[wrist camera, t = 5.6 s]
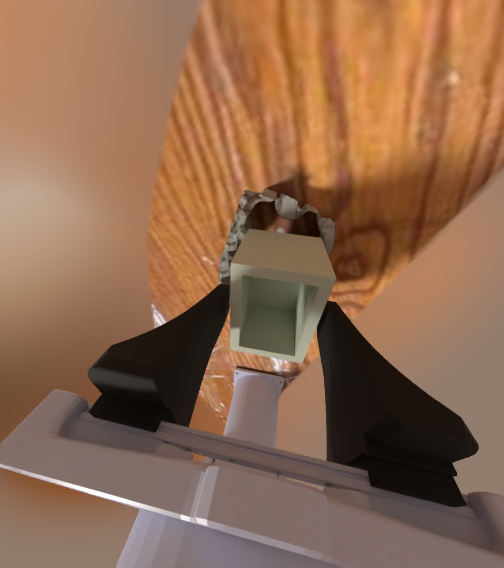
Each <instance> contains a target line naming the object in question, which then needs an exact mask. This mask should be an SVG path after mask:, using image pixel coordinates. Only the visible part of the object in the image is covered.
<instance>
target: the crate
mask: <svg viewBox="0 0 504 568" xmlns="http://www.w3.org/2000/svg"><path fill="white" fill-rule="evenodd" d="M335 281H336V276H335V273H334V270H333V268H332V265H331V262H330V260H329V257H328V254H327V252H326V249H325V246H324V244H323V241H322V238H318V237H310V236H302V235H294V234H286V233H279V232H271V231H263V230H255V229H248V231H247V233H246V235H245V237H244V238H243V240H242V242H241V244H240V246H239V248H238V250H237V252H236V254H235V256H234V257H233V259H232V261H231V288H230V350H233V351H239V352H244V353H249V354H255V355H260V356H266V357H271V358H276V359H282V360H287V361H292V362H298V363H302V362H303V359H304V357H305V354H306V352H307V350H308V347H309V345H310V342H311V340H312V337H313V335H314V332H315V330H316V327H317V325H318V322H319V320H320V318H321V315H322V313H323V310H324V308H325V305H326V303H327V300H328V298H329V295H330V293H331V291H332V288H333V286H334V283H335Z"/></svg>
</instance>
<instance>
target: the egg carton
mask: <svg viewBox="0 0 504 568" xmlns="http://www.w3.org/2000/svg"><path fill="white" fill-rule="evenodd" d="M244 192H245V194H243V195H242V197H241V200H240V203H239V206H238V208H237V211H236V215H235V217H234V220H233V223H232V226H231V230H230V233H229V236H228V239H227V242H226V245H225V249H224V252H223V254H222V258H221V261H220V264H219V284H225V285H229V295H230V288H231V261H232V259H233V257H234V256H235V254H236V252H237V250H238V247H239V246H240V244H241V242H242V240H243V238H244V237H245V235H246V233H247V231H248V229H251V228H252V221H251V218H250V216H249V214H250V212H251V210H252V209H253V208H254V206H255V205H256V204H257V203H258V202H261V201H266V202H271V201H275V207H276V211H277V213H278V214H279V215H280V216H281V217H282V218H284V219H287V220H294V219H297V218H299V217H301V216H302V215H303V214H304V213H306V212H307V211H312V212H314V213H316V220H317V223H318V228H319V231H320V232H321V233H320V235H319V237H318V238H322V241H323V244H324V246H325V249H326V252H327V254H328V257H329V255H330V253H331V252H332V250H333V247H334V239H335V222H334V221H333V220H332V219H330V218H324V217H323V218H321V217H320V215H319V212H318V210H317V208H315V207H313V206H311V205H308V204H305V205H304V206H303V208H299V206H298V201H296V200H294V199H292V198H290V197H289V196H286V195H284V194H282V193H281V194H280V197H278V198H277V193H276V192H274V191H272V190H269V189H267V188H265V189H264V191H263V192H262V193H261V195H260V194H259V193H255V192H251V191H248V190H245V191H244ZM277 232H279V233H285V230H284V229H283V228H282V227H280V228H279V229H278V230H277Z"/></svg>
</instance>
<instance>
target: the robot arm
mask: <svg viewBox="0 0 504 568" xmlns="http://www.w3.org/2000/svg"><path fill="white" fill-rule="evenodd" d="M229 308H230V295H229V285H225V284H219V285H218V286H217V287H216V288H215V289H214V290H212V291H211V292H210V293H209V294H208V295H207V296H205V297H204V298H203V299H202V300H200V301H199V302H198V303H197V304H195V305H194V306H192V307H191V308H190V309H188V310H187V311H185V312H184V313H182V314H181V315H179V316H178V317H176V318H174V319H172V320H171V321H169V322H167V323H165V324H163V325H161V326H159V327H157V328H155V329H153V330H151V331H149V332H146V333H144V334H141V335H139V336H137V337H134V338H132V339H129V340H126V341H123V342H120V343H117V344H114V345H112V346H111V347H110V348H109V349H108V350H107V351H106V352H105V353H104V354H103V355H102V356H101V357H100V358H99V359H98V361H97V362H96V363H95V364H94V365H93V366H92V367H91V368H90V369H89V371H88V377H89V379H90V380H91V382H92V383H93V384H94V385H95V386H96V387H97V388H98V389H99V391H100V392H101V393H102V395H101V396H100V397H99V399H98V400H97V401H96V402H95V404H90V403H88V401H87V400H86V399H85V398H84V397H83V396H81V395H78V394H75V393H71V392H67V391H63V390H58V389H56V390H53V391H52V392H51V393H50V394H49V395H48V396H47V397H46V398H45V399H44V400H43V402H41V403H40V404H39V405H38V406H37V407H36V408H35V409H34V410H33V412H31V413H30V414H29V415H28V416H27V417H26V418H25V420H23V421H22V423H20V424H19V425H18V426H17V428H15V429H14V431H12V432H11V433H10V434H9V435H8V437H7V438H6V439H5V440H4V441H3V442H2V443H1V444H0V467H1V468H5V469H8V470H11V471H14V472H18V473H21V474H24V475H27V476H31V477H34V478H37V479H41V480H45V481H48V482H51V483H54V484H58V485H61V486H64V487H68V488H71V489H75V490H78V491H81V492H85V493H88V494H91V495H95V496H98V497H101V498H105V499H108V500H111V501H115V502H118V503H121V504H125V505H128V506H132V507H135V508H138V509H140V511H139V513H138V516H137V518H136V520H135V523H134V525H133V528H132V530H131V532H130V535H129V537H128V539H127V542H126V544H125V547H124V549H123V551H122V554H121V556H120V558H119V561H118V563H117V566H116V568H504V496H502V495H498V494H494V493H489V492H472V493H468V495H465V494H461V492H460V490H459V488H458V486H457V484H456V482H455V480H454V478H453V476H457V472H456V470H455V468H454V466H453V464H452V463H453V462H456V461H458V460H461V459H464V458H467V457H470V456H472V455H474V454H475V453H476V452H477V451H478V449H479V446H478V443H477V442H476V440H475V439H474V437H473V435H472V434H471V433H470V431H469V429H468V428H467V426H466V424H465V423H464V421H463V420H462V418H461V417H460V416H458V415H457V414H456V413H454V412H453V411H451V410H450V409H448V408H447V407H445V406H444V405H443V404H441V403H440V402H438V401H437V400H435V399H434V398H433V397H431V396H430V395H428V394H427V393H426V392H424V391H423V390H422V389H420V388H419V387H418V386H417V385H415V384H414V383H412V381H410V380H409V379H408V378H407V377H405V376H404V375H403V374H402V373H400V372H399V371H398V370H397V369H396V368H395V367H394V366H392V365H391V364H390V363H389V362H388V361H387V360H386V359H385V358H384V357H383V356H382V355H380V353H379V352H377V351H376V350H375V349H374V348H373V347H372V346H371V344H370V343H369V342H368V341H367V340H366V339H365V338H364V337H363V336H362V334H361V333H360V332H359V331H358V330H357V329H356V327H355V326H354V325H353V324H352V322H351V321H350V320H349V319H348V317H347V316H346V315H345V313H344V312H343V311H342V309H341V308H340V307H339V305H338V304H337V303H336V302H332V301H327V303H326V305H325V308H324V310H323V313H322V315H321V318H320V320H319V322H318V325H317V339H318V345H319V351H320V357H321V363H322V368H323V375H324V385H325V402H326V427H327V461H325V460H321V459H317V458H312V457H308V456H304V455H300V454H296V453H292V452H287V451H284V450H279V449H276V432H277V413H278V399H279V396H280V393H281V390H282V387H283V385H284V382H285V378H284V377H281V376H276V375H271V374H266V373H261V372H256V371H251V370H246V369H241V368H235V369H234V393H233V397H232V401H231V406H230V410H229V414H228V418H227V422H226V426H225V431H224V435H223V436H222V435H218V434H213V433H209V432H205V431H201V430H197V429H193V428H189V424H190V421H191V417H192V413H193V410H194V406H195V403H196V399H197V396H198V393H199V390H200V386H201V383H202V380H203V377H204V374H205V370H206V367H207V364H208V361H209V358H210V356H211V353H212V351H213V348H214V346H215V344H216V342H217V339H218V337H219V335H220V333H221V330H222V328H223V326H224V324H225V321H226V318H227V315H228V312H229ZM186 451H187V452H186ZM189 452H191V453H195V454H199V455H203V456H206V458H205V461H204V462H200V461H194V460H193V455H192V454H191V453H189ZM287 477H289V478H293V479H296V480H300V481H304V482H308V483H312V484H316V485H320V486H324V487H325V488H324V489H323V491H321V490H319V489H317V488H315V487H312V486H309V485H306V484H303V483H299V482H296V481H292V480H288V479H287Z"/></svg>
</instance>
